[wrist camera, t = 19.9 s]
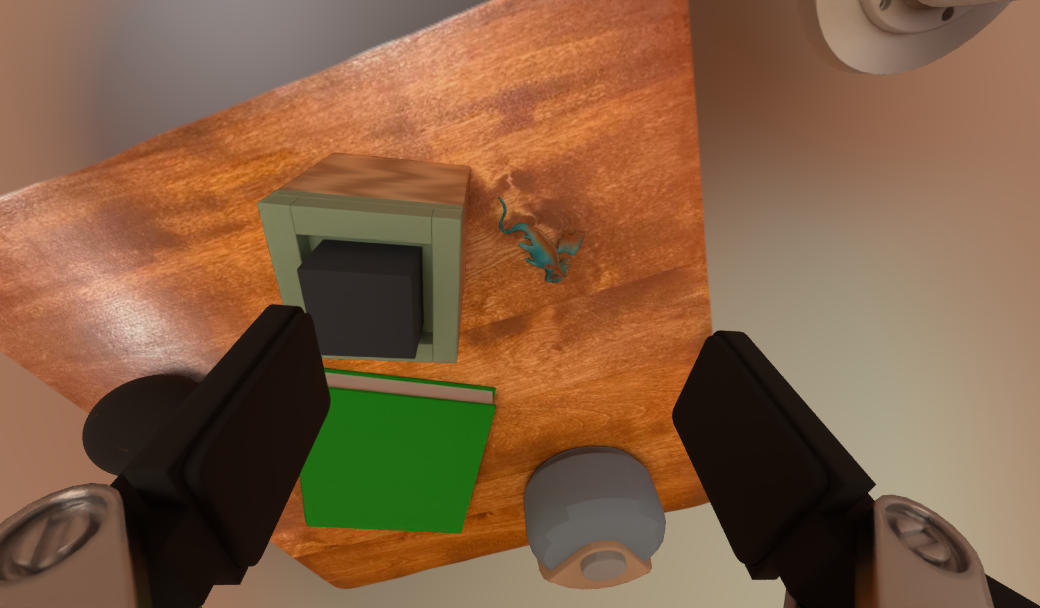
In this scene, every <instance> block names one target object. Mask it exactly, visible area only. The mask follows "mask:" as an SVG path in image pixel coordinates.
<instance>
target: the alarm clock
mask: <svg viewBox="0 0 1040 608" xmlns="http://www.w3.org/2000/svg"><path fill="white" fill-rule="evenodd" d="M524 510H525V523H526V532H527V536H528V540H529V544H530V547H531V550H532V552H533V554H534V555H535V557H536V558H537V561H538V565H539V570H540V572H541V574H542V576H543V578H544V579H545V580H547V581H549V582H551V583H555V584H558V585H561V586H565V587H568V588H576V589H600V588H606V587H612V586H616V585H620V584H623V583H627V582H629V581H631V580H634V579H636V578H638V577H641V576H643V575H645V574H648V573H649V572H650V571H651V569H652V566H651V559H650V557H651V556H652V555H653V554H654V553H655V552H656V551H657V550H658V549H659V547H660V545H661V543H662V542H663V538H664V533H665V525H666V520H665V515H664V510H663V507H662V504H661V502H660V499H659V497H658V494H657V491H656V489H655V486H654V484H653V481H652V478H651V476H650V474H649V472H648V469H647V468H646V467H644V466H643V465H642V464H641V463H640V462H639V461H637V460H635V459H634V458H633V457H632V456H631V455H630V454H628V453H626V452H624V451H621V450H619V449H615V448H610V447H605V446H587V447H581V448H575V449H571V450H568V451H565V452H562V453H559V454H557V455H555V456H554V457H552V458H550V459H548V460H546V461H545V462H544V463H543V464H542V465H541V466H539V467H538V468H537V469H536V471H535V472H534V474H533V476H532V477H531V481H530V482H529V484H528V485H527V487H526V488H525V493H524Z"/></svg>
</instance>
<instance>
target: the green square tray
mask: <svg viewBox="0 0 1040 608" xmlns="http://www.w3.org/2000/svg"><path fill="white" fill-rule="evenodd" d="M257 205H258V209H259V213H260V217H261V221H262V225H263V228H264V232H265V236H266V240H267V244H268V248H269V252H270V256H271V260H272V263H273V267H274V271H275V275H276V279H277V283H278V287H279V291H280V295H281V298H282V302H283V305H292V306H300V307H302V309H303V310H304V313H306V310H305V305H304V301H303V296H302V292H301V287H300V282H299V278H298V273H297V268H298V267H299V266H300V265H301V264H302V263H303V261H304V260H305V259H306V258H307V257H308V256H309V255H310V254H311V252H312V251H313V250H314V249H315V248H316V247H317V246H318V244H319V243H320V242H321V241H322V240H323V239H327V240H340V241H354V242H367V243H381V244H394V245H408V246H421V247H422V270H423V311H424V324H423V328H422V332H421V336H420V340H419V345H418V349H417V353H416V357H415V359H401V358H376V357H351V356H326V355H321V358H330V359H355V360H381V361H407V362H434V363H456V362H457V354H458V345H459V322H460V294H461V266H462V238H463V211H464V206H462V205H451V204H439V203H428V202H416V201H405V200H393V199H382V198H370V197H359V196H347V195H336V194H324V193H313V192H302V191H290V190H279V189H278V190H276V191H274V192H273V193H271V194H270V195H269V196H267V197H266V198H264V199H263V200H261V201H259V202H258V203H257Z"/></svg>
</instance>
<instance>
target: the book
mask: <svg viewBox="0 0 1040 608" xmlns="http://www.w3.org/2000/svg"><path fill="white" fill-rule="evenodd" d="M324 371H325V375H326V380H327V384H328V388H329V393H330V398H331V403H330V409H329V412H328V414H327V417H326V419H325V421H324V423H323V425H322V427H321V430H320V432H319V434H318V436H317V438H316V440H315V443H314V445H313V447H312V449H311V451H310V453H309V456H308V458H307V460H306V462H305V464H304V466H303V469H302V471H301V473H300V482H301V490H302V499H303V507H304V515H305V522H306V524H307V526H313V527H335V528H356V529H377V530H399V531H420V532H442V533H461V531H462V528H463V524H464V521H465V517H466V513H467V510H468V506H469V503H470V499H471V495H472V492H473V488H474V485H475V481H476V477H477V474H478V470H479V467H480V463H481V459H482V456H483V452H484V449H485V445H486V441H487V438H488V434H489V431H490V427H491V423H492V420H493V416H494V413H495V409H496V404H493V398H494V395H495V391H496V388H494V387H485V386H476V385H468V384H459V383H450V382H442V381H433V380H424V379H416V378H407V377H398V376H389V375H381V374H372V373H363V372H355V371H346V370H337V369H329V368H324Z"/></svg>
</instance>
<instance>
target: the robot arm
mask: <svg viewBox="0 0 1040 608" xmlns="http://www.w3.org/2000/svg"><path fill="white" fill-rule="evenodd" d="M860 1H861V4H862V7H863V9H864V12H865V13H866V15H867V16H868V17H869V19H870V20H871V21H872V23H874V24H875V25H877V26H878V27H879V28H881V29H882V30H886V31H889V32H892V33H903V34H910V33H921V32H927V31H930V30H933V29H937V28H940V27H942V26H944V25H946V24H948V23H951V22H953V21H955V20H957V19H958V18H960V17H961V16H963V15H964V14H966V13H967V12H969V11H970V10H972V9H973V8H975V7H976V6H977V5H978V4H983V3H993V2H1003V1H1013V0H860ZM330 403H331V398H330V393H329V388H328V384H327V380H326V375H325V371H324V367H323V362H322V358H321V354H320V349H319V345H318V340H317V336H316V332H315V327H314V323H313V319H312V316H311V314H309V313H304V310H303V309H302V307H300V306H292V305H275V304H273V305H269V306H268V307H267V308H266V309H265V310H264V311H263V312H262V313H261V315H260V316H259V317H258V318H257V319H256V320H255V321H254V323H253V324H252V325H251V326H250V327H249V328H248V329H247V330H246V332H245V333H244V334H243V335H242V336H241V337H240V338H239V340H238V341H237V342H236V343H235V344H234V345H233V346H232V347H231V349H230V350H229V351H228V352H227V353H226V354H225V355H224V357H223V358H222V359H221V360H220V361H219V362H218V363H217V364H216V366H215V367H214V368H213V369H212V370H211V371H210V372H209V374H208V375H207V376H206V377H205V378H204V379H203V380H202V381H201V383H200V384H199V385H198V386H197V387H196V388H195V389H194V391H193V392H192V393H191V394H190V395H189V396H188V397H187V398H186V400H185V401H184V402H183V403H182V404H181V405H180V406H179V407H178V409H177V410H176V411H175V412H174V413H173V414H172V415H171V417H170V418H169V419H168V420H167V421H166V422H165V423H164V424H163V426H162V427H161V428H160V429H159V430H158V431H157V432H156V434H155V435H154V436H153V437H152V438H151V439H150V440H149V441H148V443H147V444H146V445H145V446H144V447H143V448H142V449H141V451H140V452H139V453H138V454H137V455H136V456H135V457H134V458H133V460H132V461H131V462H130V463H129V464H128V465H127V466H126V468H125V469H124V470H123V471H122V473H121V474H120V475H119V476H118V477H117V478H116V479H115V480H114V482H113V483H112V484H111V485H110V486H109V485H106V484H96V483H90V484H83V485H77V486H72V487H69V488H66V489H63V490H60V491H57V492H54V493H51V494H49V495H47V496H45V497H43V498H41V499H39V500H37V501H35V502H32V503H30V504H28V505H27V506H25V507H24V508H22V509H21V510H19V511H18V512H16V513H15V514H13V515H12V516H10V517H9V518H7V519H6V520H4V521H3V522H2V523H1V524H0V608H202V605H203V604H204V602H205V600H206V598H207V597H208V595H209V593H210V591H211V589H212V587H213V585H240V583H241V581H242V579H243V577H244V575H245V573H246V571H247V569H248V567H249V566H255V565H256V564H257V563H258V562H259V560H260V559H261V557H262V555H263V553H264V551H265V549H266V547H267V544H268V542H269V540H270V538H271V536H272V534H273V531H274V529H275V527H276V525H277V523H278V521H279V518H280V516H281V514H282V512H283V510H284V508H285V505H286V503H287V501H288V499H289V497H290V495H291V492H292V490H293V488H294V486H295V484H296V482H297V479H298V477H299V475H300V473H301V471H302V469H303V466H304V464H305V462H306V460H307V458H308V456H309V453H310V451H311V449H312V447H313V445H314V443H315V440H316V438H317V436H318V434H319V432H320V430H321V427H322V425H323V423H324V421H325V419H326V417H327V414H328V412H329V409H330ZM672 419H673V423H674V426H675V428H676V430H677V432H678V434H679V436H680V438H681V441H682V443H683V445H684V447H685V449H686V451H687V453H688V456H689V458H690V460H691V462H692V464H693V466H694V468H695V471H696V473H697V475H698V477H699V479H700V481H701V483H702V486H703V488H704V490H705V492H706V494H707V496H708V498H709V501H710V503H711V505H712V507H713V509H714V511H715V513H716V515H717V518H718V520H719V522H720V524H721V526H722V528H723V530H724V533H725V534H726V537H727V539H728V541H729V543H730V545H731V547H732V550H733V552H734V554H735V556H736V557H737V559H738V560H739V561H740V562H742V563H744V564H745V566H746V568H747V570H748V572H749V574H750V576H751V578H752V580H775V579H777V578H778V577H779V576H780V578H781V580H782V581H783V583H784V585H785V587H786V594H785V601H784V608H1040V606H1039V605H1037V604H1036V603H1034V602H1032V601H1030V600H1029V599H1027V598H1025V597H1024V596H1022V595H1020V594H1018V593H1017V592H1015V591H1013V590H1012V589H1010V588H1008V587H1007V586H1005V585H1003V584H1001V583H1000V582H998V581H996V580H995V579H993V578H991V577H990V576H988V575H986V574H985V572H984V569H983V565H982V564H981V561H980V559H979V557H978V554H977V552H976V551H975V550H974V549H973V547H972V546H971V545H970V543H969V542H968V541H967V539H966V538H965V537H964V536H963V535H962V534H961V533H960V532H959V531H958V530H956V528H955V527H954V526H953V525H951V524H950V523H949V522H947V521H946V520H945V519H943V518H942V517H941V516H939V515H938V514H937V513H935V512H933V511H932V510H930V509H929V508H927V507H925V506H923V505H922V504H920V503H917V502H915V501H913V500H910V499H908V498H906V497H901V496H896V495H883V496H881V497H880V498H878V499H877V500H876V501H874V500H873V498H872V497H871V496H870V495H869V494H868V492H869V491H870V490H871V489H872V488H873V487H874V486H875V485H876V484H875V483H874V482H873V480H872V479H871V478H870V477H869V476H868V475H867V473H866V472H865V471H864V470H863V469H862V468H861V466H860V465H859V464H858V463H857V462H856V461H855V460H854V458H853V457H852V456H851V455H850V454H849V453H848V452H847V450H846V449H845V448H844V447H843V446H842V445H841V444H840V442H839V441H838V440H837V439H836V438H835V436H834V435H833V434H832V433H831V432H830V431H829V430H828V428H827V427H826V426H825V425H824V424H823V423H822V421H821V420H820V419H819V418H818V417H817V416H816V414H815V413H814V412H813V411H812V410H811V409H810V408H809V406H808V405H807V404H806V403H805V402H804V401H803V400H802V398H801V397H800V396H799V395H798V394H797V393H796V392H795V390H794V389H793V388H792V387H791V386H790V384H789V383H788V382H787V381H786V380H785V379H784V378H783V376H782V375H781V374H780V373H779V372H778V370H777V369H776V368H775V367H774V366H773V365H772V364H771V362H770V361H769V360H768V359H767V358H766V357H765V355H764V354H763V353H762V352H761V351H760V350H759V349H758V347H757V346H756V345H755V344H754V343H753V342H752V340H751V339H750V338H749V337H748V336H747V335H746V334H745V333H743V332H736V331H716V332H715V333H714V334H713V335H712V336H709V337H708V338H707V339H706V341H705V343H704V345H703V347H702V349H701V351H700V353H699V356H698V358H697V360H696V362H695V364H694V366H693V368H692V370H691V373H690V375H689V377H688V379H687V381H686V383H685V385H684V387H683V389H682V392H681V394H680V396H679V398H678V400H677V402H676V404H675V406H674V409H673V412H672Z"/></svg>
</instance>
